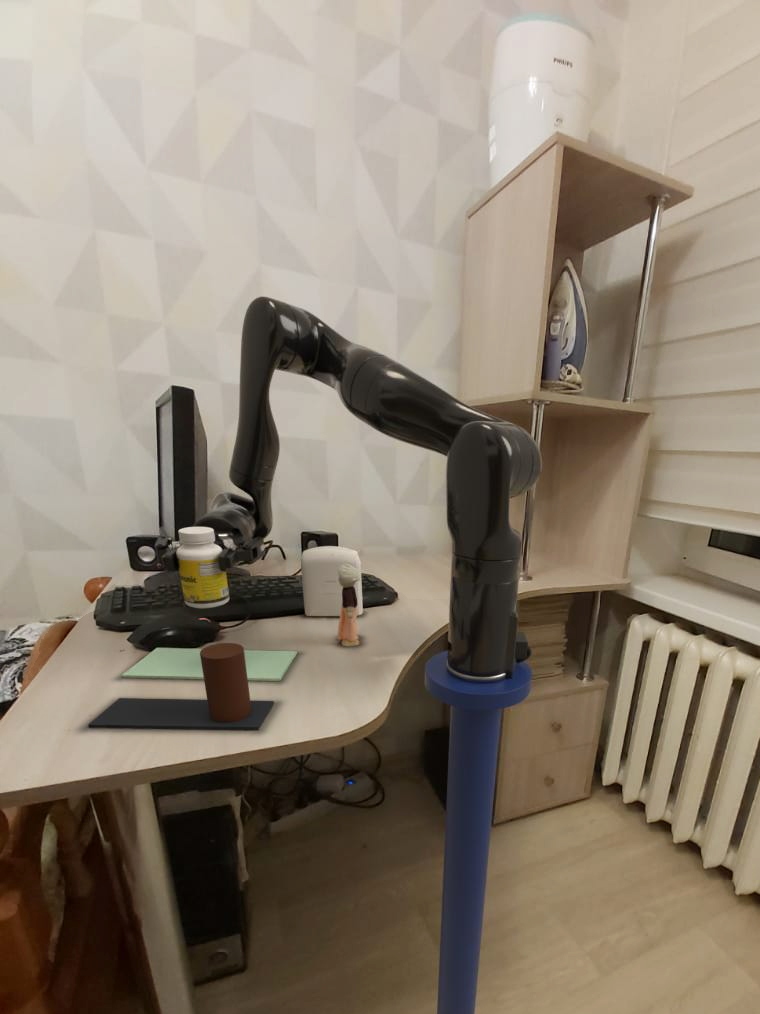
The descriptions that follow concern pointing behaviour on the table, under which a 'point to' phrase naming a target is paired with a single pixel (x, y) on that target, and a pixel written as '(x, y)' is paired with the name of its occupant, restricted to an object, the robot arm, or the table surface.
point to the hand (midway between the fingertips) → (196, 563)
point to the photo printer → (327, 579)
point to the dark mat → (174, 715)
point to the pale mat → (189, 664)
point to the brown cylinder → (226, 682)
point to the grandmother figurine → (348, 605)
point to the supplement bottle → (201, 568)
